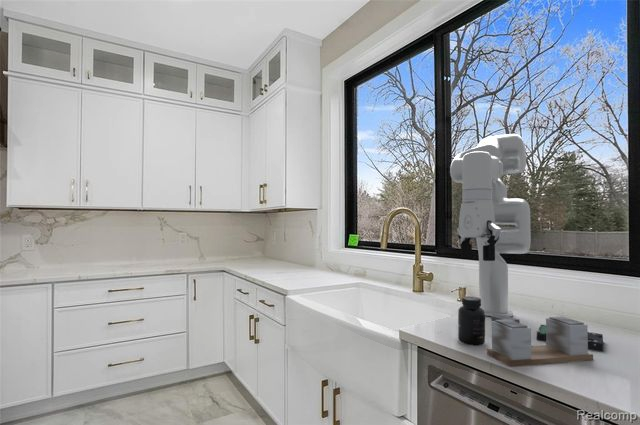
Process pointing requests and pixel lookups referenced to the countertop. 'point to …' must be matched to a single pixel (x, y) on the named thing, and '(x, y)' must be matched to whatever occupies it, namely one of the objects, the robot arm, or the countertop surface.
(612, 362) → the countertop surface
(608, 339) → the countertop surface
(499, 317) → the block
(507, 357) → the rail
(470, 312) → the supplement bottle
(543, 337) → the disk drive
